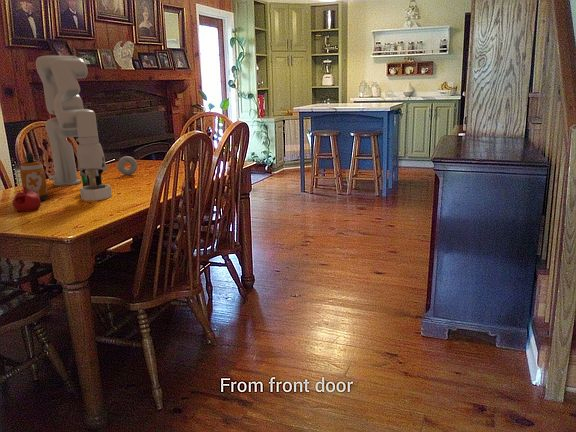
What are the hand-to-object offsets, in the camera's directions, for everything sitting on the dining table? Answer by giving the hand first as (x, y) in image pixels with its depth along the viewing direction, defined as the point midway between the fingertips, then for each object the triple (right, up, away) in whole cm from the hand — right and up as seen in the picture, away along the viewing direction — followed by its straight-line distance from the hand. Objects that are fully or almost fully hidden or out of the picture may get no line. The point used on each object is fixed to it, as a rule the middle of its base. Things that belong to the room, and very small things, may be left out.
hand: (94, 184), depth 207 cm
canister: (-25, -6, +1) cm, 26 cm away
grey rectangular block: (0, -2, 0) cm, 2 cm away
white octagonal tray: (0, -5, +1) cm, 6 cm away
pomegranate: (-20, -11, -16) cm, 28 cm away
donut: (-2, +8, +51) cm, 52 cm away
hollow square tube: (0, -5, +1) cm, 6 cm away
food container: (-5, -2, +16) cm, 17 cm away
